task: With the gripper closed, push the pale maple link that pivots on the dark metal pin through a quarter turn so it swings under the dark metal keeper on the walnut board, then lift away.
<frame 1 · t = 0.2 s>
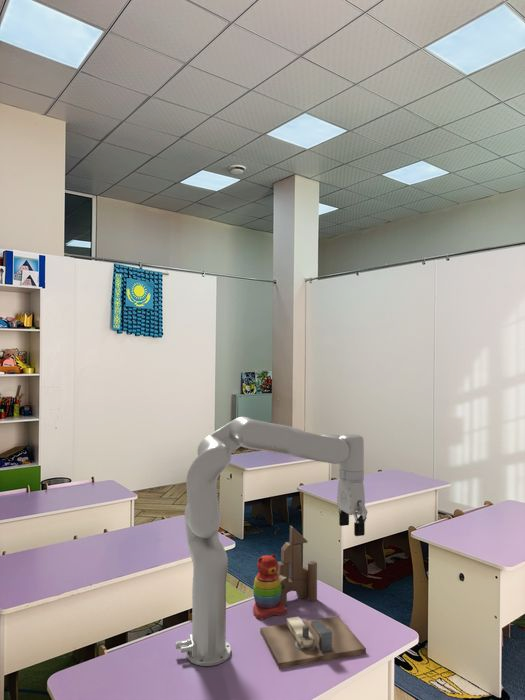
hand: (351, 530, 153), 31 cm above the table, tool pointing down, fingers open, 9 cm apart
stacking bear: (267, 610, 165), on the table, touching wooden toy
base board: (311, 642, 146), on the table
keeper: (320, 649, 143), resting on base board
wooden toy: (294, 600, 172), on the table, touching stacking bear
link: (300, 627, 146), point 4 cm above the table, hinge at 90.0°
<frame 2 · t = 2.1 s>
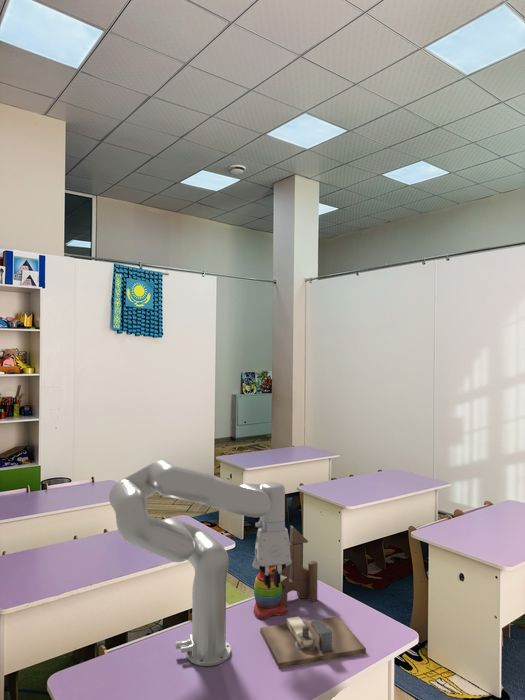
hand: (272, 585, 150), 15 cm above the table, tool pointing down, fingers closed
stacking bear: (268, 610, 165), on the table, touching wooden toy
wooden toy: (294, 600, 172), on the table, touching stacking bear
everything else where it was.
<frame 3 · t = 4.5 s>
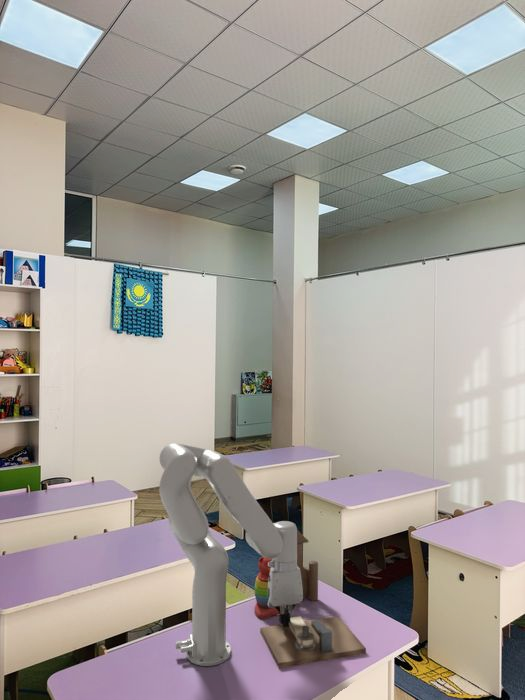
hand: (284, 624, 150), 3 cm above the table, tool pointing down, fingers closed
link: (301, 627, 146), point 4 cm above the table, hinge at 87.2°, touching gripper
everything else where it was.
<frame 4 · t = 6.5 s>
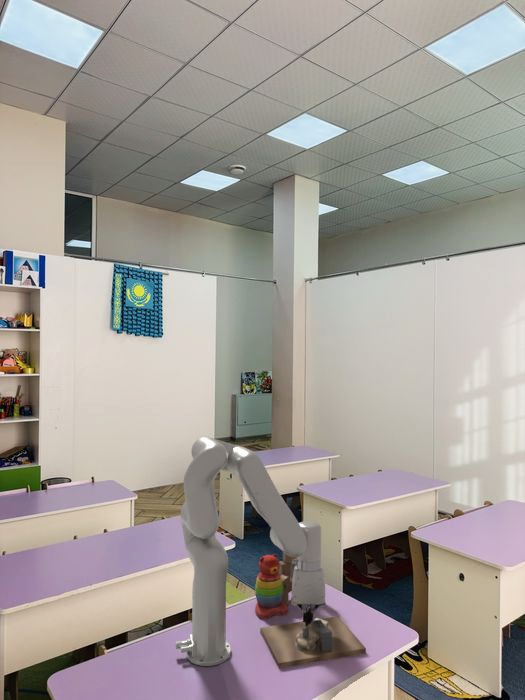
hand: (307, 624, 152), 2 cm above the table, tool pointing down, fingers closed
stacking bear: (269, 610, 165), on the table, touching wooden toy
wooden toy: (295, 600, 172), on the table, touching stacking bear
link: (312, 628, 146), point 4 cm above the table, hinge at 41.8°, touching gripper
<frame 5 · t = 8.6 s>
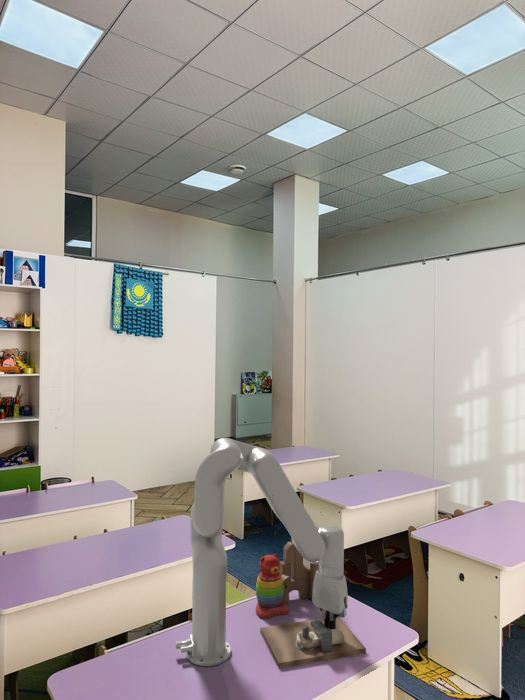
hand: (329, 631, 148), 2 cm above the table, tool pointing down, fingers closed
wooden toy: (296, 600, 172), on the table, touching stacking bear
link: (319, 633, 143), point 4 cm above the table, hinge at -3.8°, touching gripper
everything else where it was.
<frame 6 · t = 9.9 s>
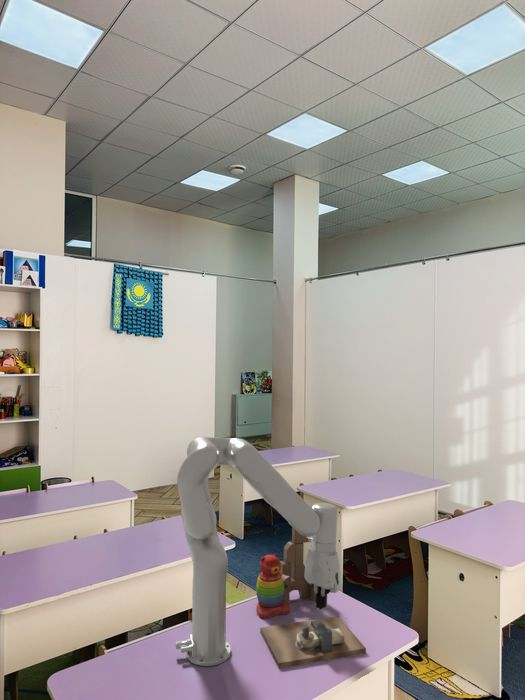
hand: (321, 607, 149), 9 cm above the table, tool pointing down, fingers closed
stacking bear: (270, 610, 165), on the table, touching wooden toy
wooden toy: (296, 600, 172), on the table, touching stacking bear
link: (319, 633, 143), point 4 cm above the table, hinge at -3.3°
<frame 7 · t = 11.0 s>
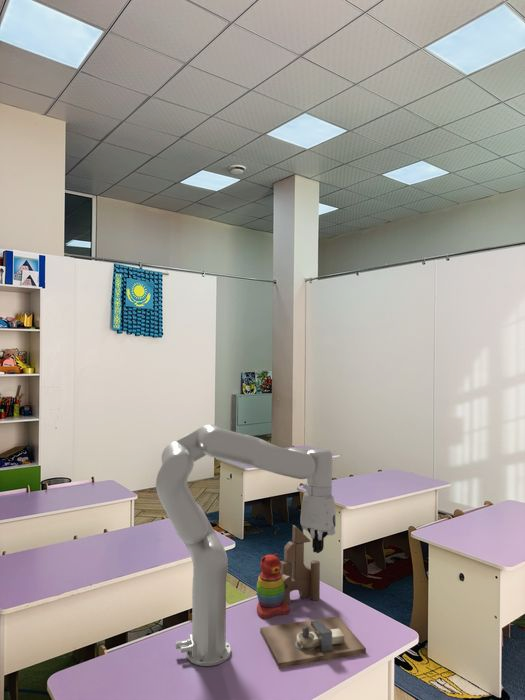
hand: (317, 551, 150), 26 cm above the table, tool pointing down, fingers closed
stacking bear: (271, 609, 165), on the table, touching wooden toy
wooden toy: (297, 599, 172), on the table, touching stacking bear
everything else where it was.
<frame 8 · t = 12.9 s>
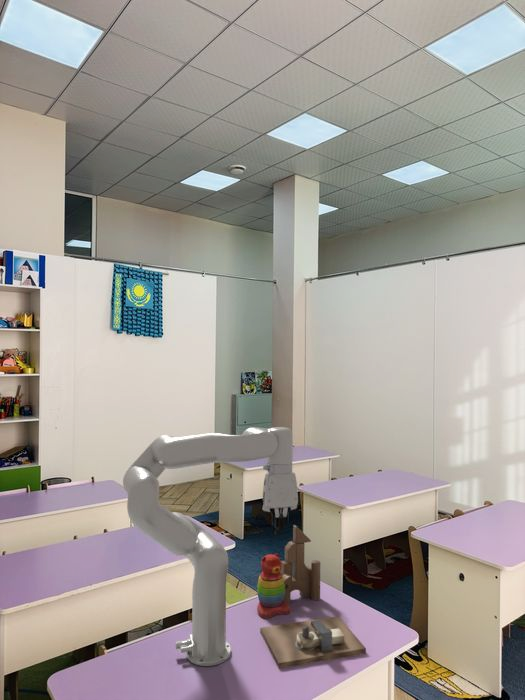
hand: (279, 529, 150), 32 cm above the table, tool pointing down, fingers closed
stacking bear: (271, 609, 166), on the table, touching wooden toy
wooden toy: (297, 599, 173), on the table, touching stacking bear
everything else where it was.
at the end: link at -3° (first picture: +90°) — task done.
